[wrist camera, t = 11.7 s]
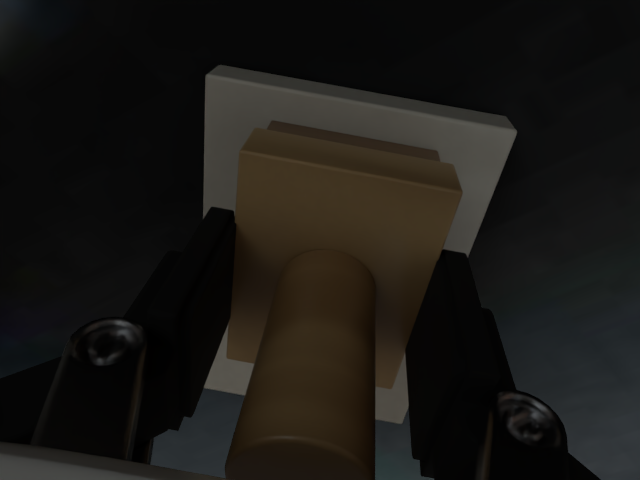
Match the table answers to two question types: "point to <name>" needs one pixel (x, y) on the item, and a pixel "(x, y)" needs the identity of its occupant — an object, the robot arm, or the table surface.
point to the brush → (327, 291)
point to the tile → (355, 119)
